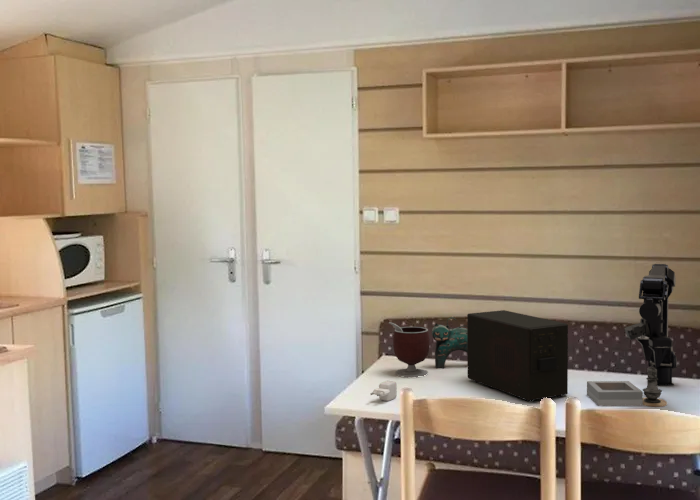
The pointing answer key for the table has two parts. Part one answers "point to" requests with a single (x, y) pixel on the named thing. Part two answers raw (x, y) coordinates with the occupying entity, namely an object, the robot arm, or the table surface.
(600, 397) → the breaker guard
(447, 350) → the ceramic cat
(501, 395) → the table surface
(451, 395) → the table surface
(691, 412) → the table surface
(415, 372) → the mate gourd
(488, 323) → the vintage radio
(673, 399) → the table surface
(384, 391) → the power adapter
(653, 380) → the salt shaker
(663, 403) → the coaster
